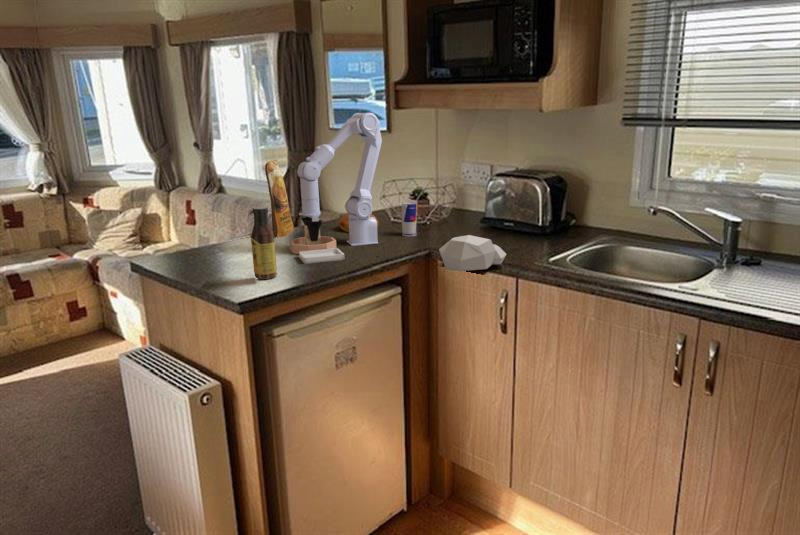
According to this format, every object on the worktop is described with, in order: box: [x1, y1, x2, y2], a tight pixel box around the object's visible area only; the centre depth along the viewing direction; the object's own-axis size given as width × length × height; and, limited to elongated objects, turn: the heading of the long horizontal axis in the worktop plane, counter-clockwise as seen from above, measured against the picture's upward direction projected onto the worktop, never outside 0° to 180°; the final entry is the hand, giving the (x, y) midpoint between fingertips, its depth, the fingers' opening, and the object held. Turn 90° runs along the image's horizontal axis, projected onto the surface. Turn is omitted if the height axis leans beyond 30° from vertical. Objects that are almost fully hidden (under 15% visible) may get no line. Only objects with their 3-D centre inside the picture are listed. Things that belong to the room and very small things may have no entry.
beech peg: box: [303, 224, 321, 245], centre depth 201 cm, size 4×4×7 cm
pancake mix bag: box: [264, 159, 294, 239], centre depth 223 cm, size 7×19×28 cm, turn 172°
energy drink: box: [401, 201, 418, 238], centre depth 219 cm, size 5×5×12 cm
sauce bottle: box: [250, 205, 278, 280], centre depth 166 cm, size 6×6×20 cm
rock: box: [438, 234, 507, 272], centre depth 175 cm, size 18×20×10 cm
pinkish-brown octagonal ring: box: [289, 235, 338, 255], centre depth 201 cm, size 15×15×3 cm
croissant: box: [337, 212, 379, 233], centre depth 230 cm, size 14×16×8 cm
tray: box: [298, 247, 346, 265], centre depth 189 cm, size 13×10×2 cm
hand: (312, 239), depth 201 cm, fingers closed on beech peg, 4 cm apart
